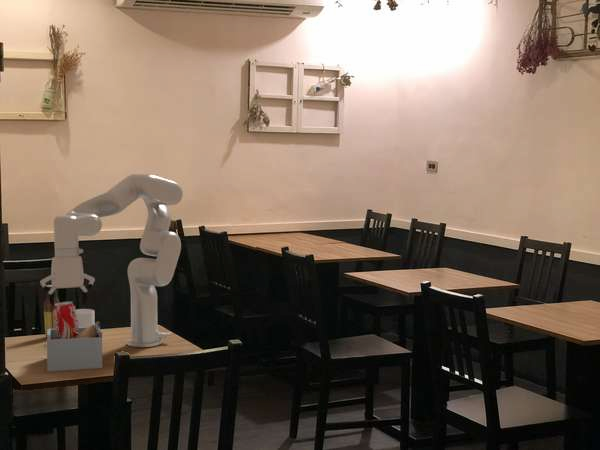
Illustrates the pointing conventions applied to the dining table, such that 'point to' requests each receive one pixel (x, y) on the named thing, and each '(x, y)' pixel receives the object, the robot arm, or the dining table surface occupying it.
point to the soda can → (65, 320)
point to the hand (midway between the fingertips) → (68, 304)
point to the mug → (85, 317)
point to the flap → (87, 332)
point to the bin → (74, 351)
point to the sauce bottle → (50, 311)
